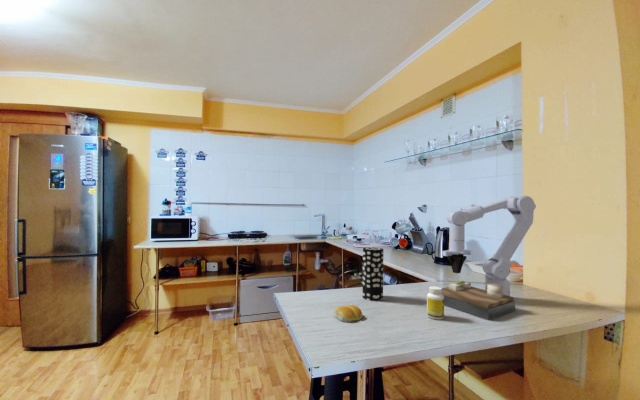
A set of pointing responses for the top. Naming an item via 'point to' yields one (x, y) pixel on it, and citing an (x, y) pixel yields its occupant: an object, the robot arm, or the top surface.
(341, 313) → the bread roll
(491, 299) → the plate
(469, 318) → the top surface
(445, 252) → the robot arm
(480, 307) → the base
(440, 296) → the supplement bottle
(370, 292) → the spotted tube
